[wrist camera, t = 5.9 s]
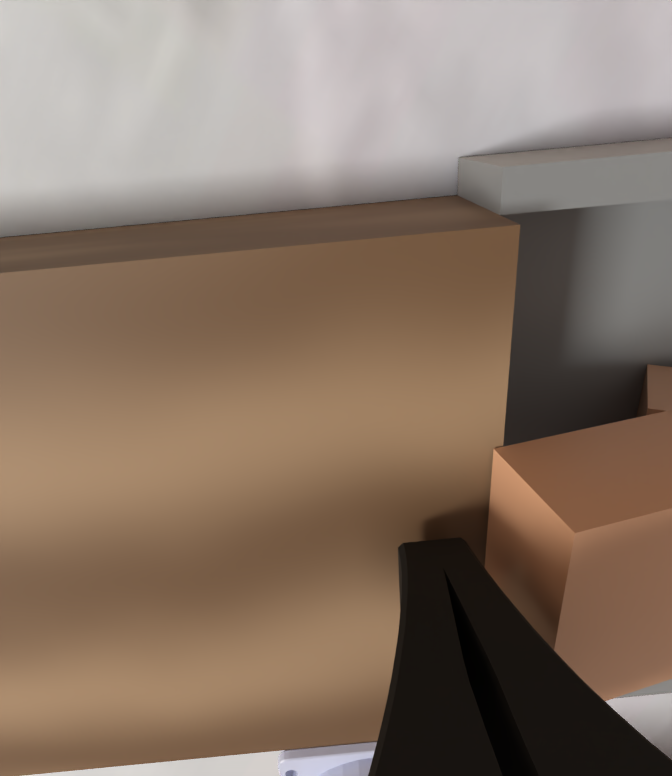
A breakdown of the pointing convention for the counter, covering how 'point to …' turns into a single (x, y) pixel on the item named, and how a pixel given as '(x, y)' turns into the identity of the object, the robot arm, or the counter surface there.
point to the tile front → (590, 547)
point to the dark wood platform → (235, 469)
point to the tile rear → (656, 391)
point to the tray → (583, 281)
